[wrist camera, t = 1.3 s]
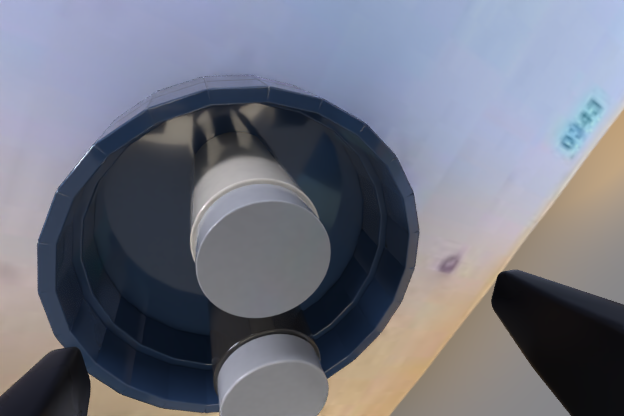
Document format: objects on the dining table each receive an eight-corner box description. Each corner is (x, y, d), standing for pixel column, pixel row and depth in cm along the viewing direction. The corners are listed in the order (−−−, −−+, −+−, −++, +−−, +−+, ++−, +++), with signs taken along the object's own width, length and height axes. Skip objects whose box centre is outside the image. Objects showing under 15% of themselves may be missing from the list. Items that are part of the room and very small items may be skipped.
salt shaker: (196, 222, 20) (201, 335, 12) (182, 135, 18) (179, 206, 10) (282, 211, 21) (334, 307, 13) (278, 128, 19) (336, 187, 11)
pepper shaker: (211, 318, 22) (222, 459, 15) (200, 252, 20) (207, 375, 13) (286, 303, 23) (332, 426, 16) (283, 239, 22) (333, 345, 14)
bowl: (115, 368, 22) (97, 449, 18) (26, 81, 15) (-38, 99, 11) (367, 313, 26) (402, 369, 22) (383, 68, 20) (439, 77, 15)
